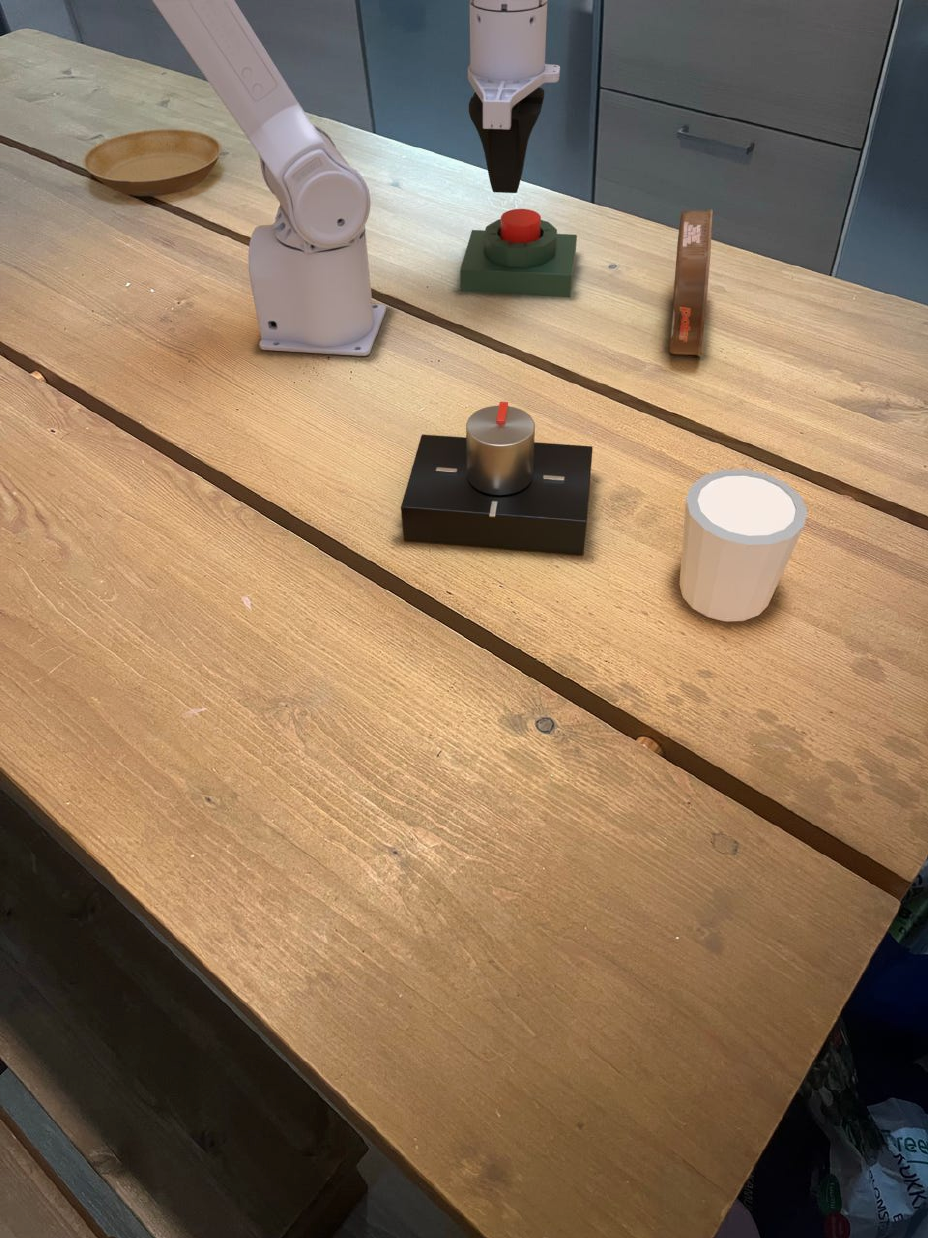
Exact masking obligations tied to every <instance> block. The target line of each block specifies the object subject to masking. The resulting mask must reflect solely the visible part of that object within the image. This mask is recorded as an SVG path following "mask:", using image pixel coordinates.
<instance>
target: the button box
mask: <svg viewBox="0 0 928 1238" xmlns="http://www.w3.org/2000/svg"><path fill="white" fill-rule="evenodd" d="M577 240H578V235H577V234H572V233H570V234H568V233H558V229H557V228H556V227H555V226H554V225H552V223H550V222H549V221H546V220H543V219H541V230H540V238H539V239H538V240H536V241H532V242H527V243H513V242H509V241H506V240H503V239H502V238H501V218H499V219H497V220H495V221H493V222H491V223H490V224H488V225H487V226H485V229H484V230H482V229H481V230H480V229H472V230H471V231H470V235H469V238H468V242H467V245H466V247H465V248H466V249H465V252H464V255H463V260H462V262H461V266H460V269H459V277H460V279H459V280H460V281H459V282H460V284H459V287H460V292H463V293H464V292H465V293H482V294H483V293H484V294H501V295H520V296H521V295H522V296H541V297H557V298H559V297H560V298H571V295H572V287H573V279H574V271H575V263H576V256H577V255H576V254H577Z"/></svg>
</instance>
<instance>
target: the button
mask: <svg viewBox="0 0 928 1238" xmlns="http://www.w3.org/2000/svg"><path fill="white" fill-rule="evenodd" d="M500 219H501V238H502V239H503V240H506V241H509V242H513V243H527V242H532V241H536V240H538V239H539V238H540V230H541V220H542V217H541V215H540V213H539V212H537V211H534V210H533V209H528V208H514V209H509V210H507V211H504V212H503V213H502V214H501V217H500Z"/></svg>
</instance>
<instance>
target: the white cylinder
mask: <svg viewBox="0 0 928 1238" xmlns="http://www.w3.org/2000/svg"><path fill="white" fill-rule="evenodd" d="M807 515H808V509H807V507H806V504H805V502H804V500H803V497H802V495H800V494H799V492H798V491H796V490H795V489H794V488H793V487H792V486H791V485H790V484H789V483H787V482H786V481H784V480H782V479H779V478H777V477H775V476H774V475H770V474H768V473H767V472H761V471H757V470H751V469H747V468H735V469H734V468H733V469H730V468H729V469H720V470H717V471H714V472H710V473H708V474H704V475H702V476H701V477H700V478H699V479H698V480H696V481H695V482H694V483H693V484H691V485H690V486H689V490H688V492H687V495H686V499H685V509H684V521H683V535H682V546H681V547H682V548H681V560H680V572H679V588H680V592H681V595H682V599H684V600H685V601H686V603H687V604H688V605H689V606H690V608H691V609H693V610H695V611H696V612H698V613H699V614H702V615H703V616H705V617H707V618H709V619H714V620H718V621H722V622H744V621H747V620H750V619H752V618H755V617H758V616H759V615H761V614H762V613H763V612H764V610H765V609H766V608H768V606H769V604H770V602H771V601H772V600H771V599H772V597H773V595H774V593H775V592H776V589H777V587H778V585H779V582H780V580H781V579H782V576H783V573H784V571H785V569H786V567H787V565H788V563H789V561H790V558H791V556H792V555H793V551H794V549H795V547H796V545H797V543H798V541H799V538H800V536H801V534H802V532H803V530H804V528H805V525H806V519H807Z"/></svg>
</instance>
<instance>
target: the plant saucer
mask: <svg viewBox="0 0 928 1238" xmlns="http://www.w3.org/2000/svg"><path fill="white" fill-rule="evenodd" d="M221 153H222V145H221V143H220V142H219V140H217V139H216V138H215V137H213V136H212V135H209V134H206V133H204V132H201V131H194V130H189V129H181V128H180V129H178V128H161V129H148V130H141V131H140V130H139V131H134V132H130V133H126V134H122V135H118V136H114V137H112V138H109V139H106V140H104V141H102V142H100V143H98V144H97V145H95V146H93V147H92V148H91V149H90V150H89V151H87V152H86V153H85V155H84V157H83V160H82V165H83V167H84V169H85V170H86V171H87V172H88V173H90V175H92V176H93V178H95V179H96V180H98V181H99V182H100V183H102V184H104V185H105V186H107V187H108V188H109V189H111V190H113V191H115V192H117V193H119V194H120V193H121V194H123V195H126V196H127V195H129V196H134V197H160V196H168V195H173V194H176V193H180V192H184V191H187V190H189V189H191V188H193V187H196V186H197V185H198V184H200V183H201V182H203V181H204V180H205V179H206V178H207V176H208V175H209V174H210V173H211V172H212V170H213V169H214V167H215V165H216V164H217V162H218V161H219V158H220V155H221Z"/></svg>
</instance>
